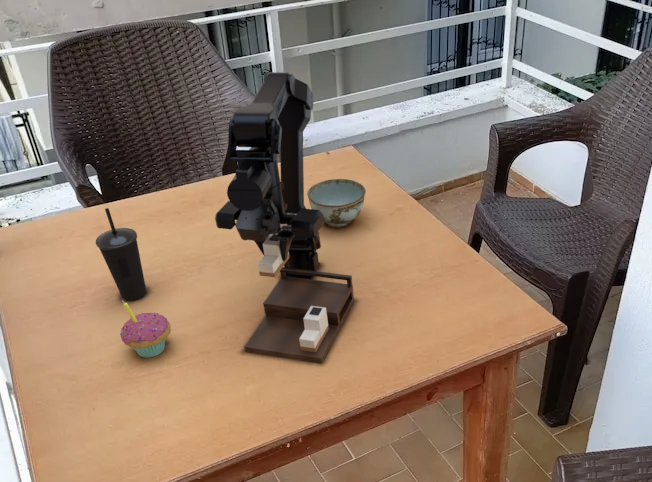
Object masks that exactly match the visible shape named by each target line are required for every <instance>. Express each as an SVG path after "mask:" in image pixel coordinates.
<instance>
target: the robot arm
mask: <svg viewBox="0 0 652 482" xmlns="http://www.w3.org/2000/svg"><path fill="white" fill-rule="evenodd" d="M313 109H314V95H313V91H312V89H311V88H310V86H309V84H308V83H306V82H303V81H301V80H299V79H297V78H296V77H295V76H294V74H293V73H289V71H287V72H286V71H284V72H283V71H281V72H280V71H278V72H277V71H275V72H274V71H272V72H271V71H269V72H268V73H265V74H264V76H263V83H262V85H261V87H260V88H259V90H258V91H257V94H256V95H255V96H254V99H253V100H252V101H251V103H250V104H248V105H244V106H240V107H239V108H238V109H237V110H235V112H234V113H233V114H232V117H231V118H230V120H229V122H228V134H227V135H228V137H227V139H228V140H227V162H228V163H236V164H237V169H236V170H235V175H234V176H233V178H232V180H231V181H230V182H229V185H227V191H226V194H227V198H228V200H227V202H226V203H225V204H224V205H223V206H222V207H221V208H220V209H219V210H218V211H217V212H216V213H215V216H214V220H215V221H214V222H215V226H216V228H217V229H223V230H232V229H233V228H236V231H237V233H238V235H239V237H240V239H241V240H243V241H253V242H254V243H255V245H256V246H257V247H258V249H259V251H260V252H261V254H262V255H263V256H264V249H263V243H264V242H265V240H266V239H267V238H268V237H269V235H270V234H277V235H276V237H277V238H278V239H279V241H280V250H281V257H282V260H283V261H285V260H286V259H287V255H288V252H289V259H288V260H287V262H286V263H285V264H284V266H283V267H286V268H294V269H302V270H310V271H318V270H319V269H320V266H321V263H320V262H319V253H318V251H317V250H320V249H321V248H322V244H321V243H322V242H321V237H320V232H319V231H320V230H321V228H323V225H324V224H325V222H324V216H323V214H322V212H321V211H320V210H314V209H311V208H306V206H305V188H304V185H305V181H304V131H305V129H306V127H307V126H308V124H309V122H310V121H311V119H312V110H313ZM237 148H249V149H237ZM278 155H279V157H280V159H279V161H280V162H279V163H280V165H278ZM279 166H280V169H279ZM285 274H286V276H287V277H295V278H303V279H311V280H313V277H314V276H307V275H299V274H291V273H285Z"/></svg>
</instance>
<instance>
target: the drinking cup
mask: <svg viewBox="0 0 652 482" xmlns="http://www.w3.org/2000/svg"><path fill="white" fill-rule="evenodd" d="M104 211H105V214H106V217H107V220H108V223H109V226H110V229H109V230H107V231H104V232H103V233H100V234H99V235H98V236H97V237H96V239H95V245H96V247H97V248H98V249H99V250H100V253H101V255H102V257H103V260H104V261H105V264H106V266H107V268H108V270H109V272H110V275H111V277H112V279H113V281H114V283H115V285H116V287H117V289H118V292H119V294H120V296H121V297H122V300H123V301H127V302H133V301H137V300H141V299H142V298H144V297H145V296H146V295H147V287H146V286H147V285H146V281H145V278H144V271H143V267H142V261H141V255H140V251H139V245H138V240H137V239H138V233H137V231H136V230H134V229H133V228H129V227H117V228H116V227H115V224H114V220H113V218H112V217H113V216H112V215H111V211H110V208H108V207H107V208H104Z"/></svg>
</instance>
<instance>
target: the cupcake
mask: <svg viewBox="0 0 652 482" xmlns="http://www.w3.org/2000/svg"><path fill="white" fill-rule="evenodd" d="M121 302H122V303H123V304H122V305H123V306H124V308H125V310H126V311H127V313H128V315H129V317H130V318H129V319H128V320H126V321H125V323H123V326H122V327H121V328H120V333H119V335H120V338H121V339H120V340H121V341H122V342H123V343H124V345H126V346H128V347H130V348H132V349H133V350H134V351H135V352H136V353H137V354H138V356H140V357H141V358H147V359H148V358H154V357H156V356H158V355H160V354H161V353H162V352H163V351H164V350H165V345H166V340H167V339H168V338H169V336H170V333H171V331H172V327H171V323H170V321H169V320H168V318H167V317H166V316H164V315H162V314H160V313H159V312H141V313H138V314H134V313H133V311H132V309H131V307H130V306H129V304H128V302H125V300H124V299H122V300H121Z"/></svg>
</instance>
